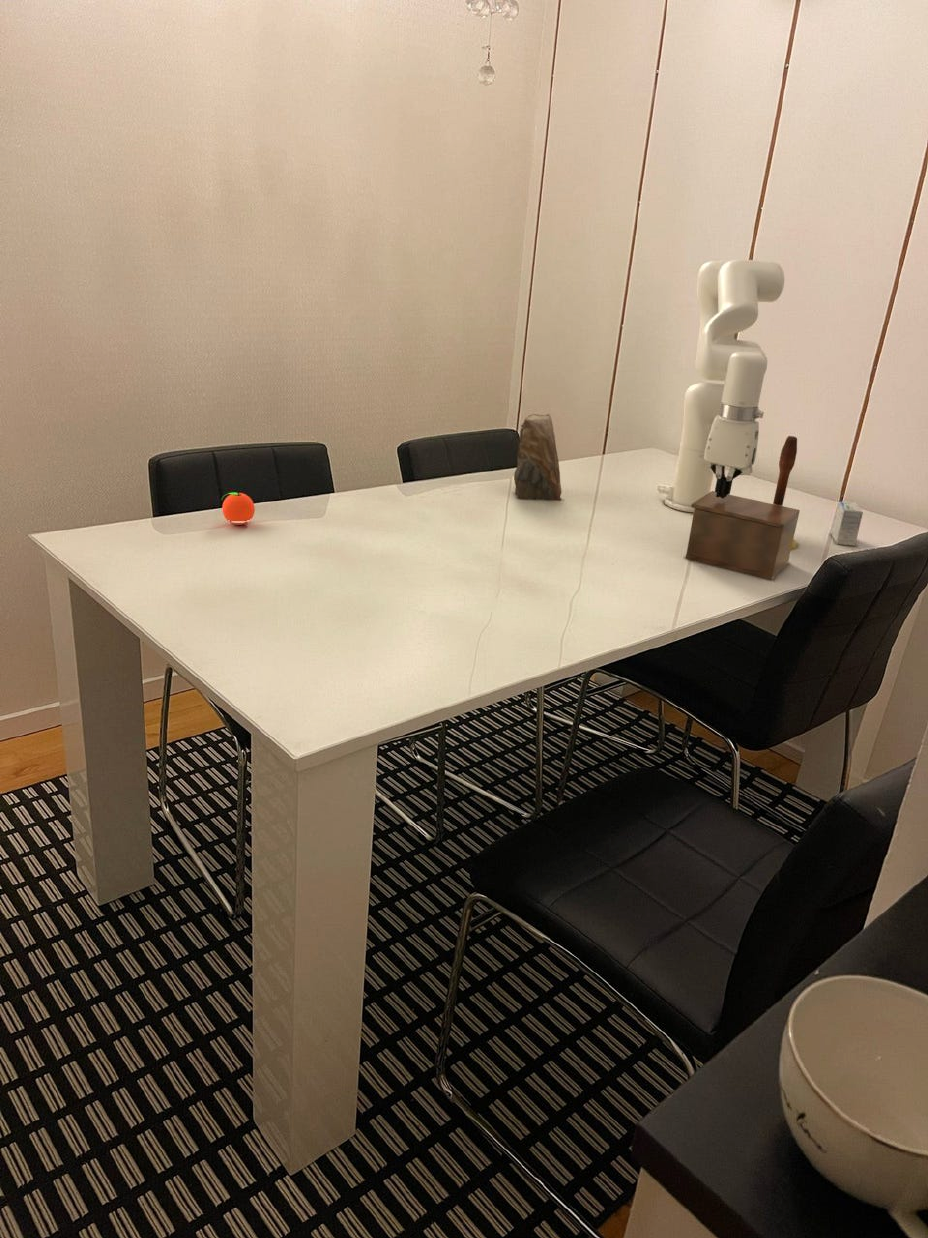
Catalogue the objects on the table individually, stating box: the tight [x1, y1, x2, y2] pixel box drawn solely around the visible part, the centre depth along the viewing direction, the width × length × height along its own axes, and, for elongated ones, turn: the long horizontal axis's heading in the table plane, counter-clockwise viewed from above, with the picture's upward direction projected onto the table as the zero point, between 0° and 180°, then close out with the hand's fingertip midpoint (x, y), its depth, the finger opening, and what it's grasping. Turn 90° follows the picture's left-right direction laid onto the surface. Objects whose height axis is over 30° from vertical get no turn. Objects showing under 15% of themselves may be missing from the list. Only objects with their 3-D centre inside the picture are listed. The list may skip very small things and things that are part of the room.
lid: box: [691, 490, 801, 528], centre depth 203 cm, size 20×14×1 cm
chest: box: [685, 508, 800, 581], centre depth 205 cm, size 19×14×12 cm
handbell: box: [772, 435, 798, 550], centre depth 217 cm, size 12×12×25 cm
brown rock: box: [513, 413, 562, 501], centre depth 241 cm, size 13×13×20 cm
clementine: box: [220, 492, 256, 526], centre depth 204 cm, size 8×7×7 cm
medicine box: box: [831, 501, 864, 547], centre depth 225 cm, size 8×4×9 cm, turn 168°
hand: (721, 496), depth 205 cm, fingers closed
